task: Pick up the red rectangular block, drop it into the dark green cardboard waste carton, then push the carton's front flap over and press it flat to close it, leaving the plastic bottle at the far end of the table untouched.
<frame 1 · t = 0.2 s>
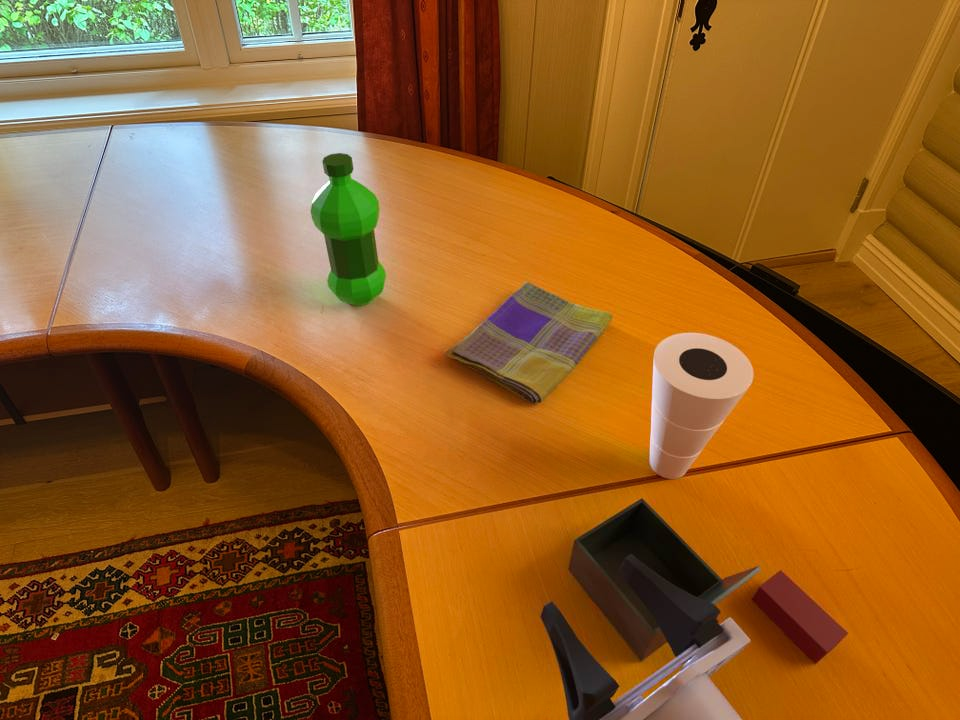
hand: (586, 584, 46), 20 cm above the table, tool horizontal, fingers open, 7 cm apart
white paper towel roll: (667, 464, 79), on the table
carton flap: (707, 600, 56), point 10 cm above the table, hinge at 110.0°
dish towel: (531, 344, 97), on the table
red rectangular block: (792, 621, 64), on the table
plastic bottle: (360, 297, 106), on the table
waste carton: (636, 589, 67), on the table
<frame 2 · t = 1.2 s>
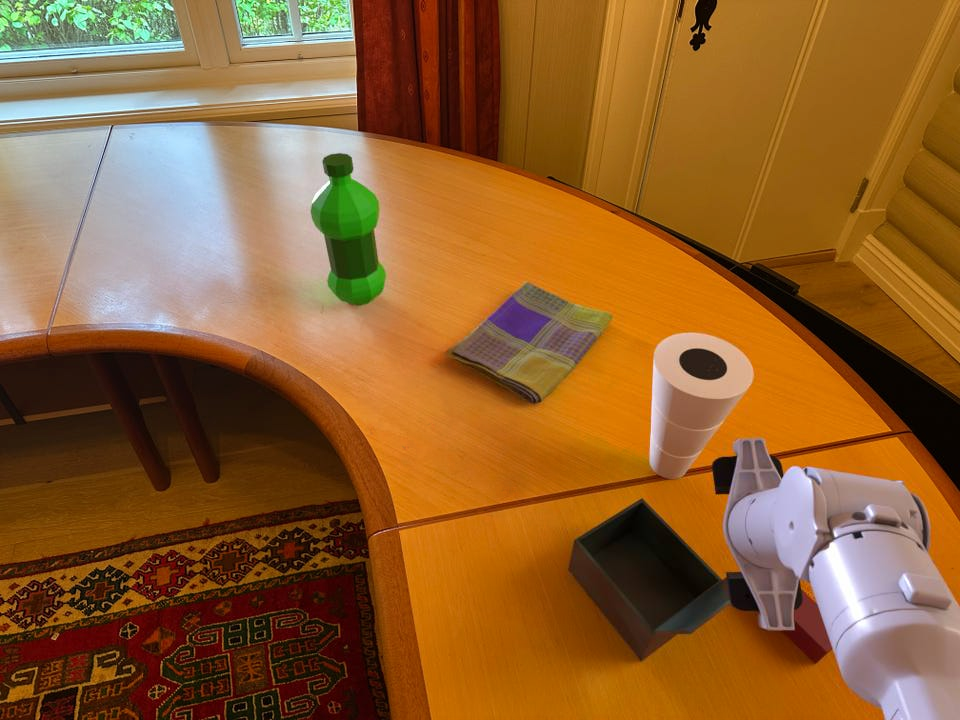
hand: (731, 532, 56), 14 cm above the table, tool tilted 30°, fingers open, 7 cm apart
carton flap: (709, 603, 56), point 10 cm above the table, hinge at 116.6°, touching gripper
everything else where it was.
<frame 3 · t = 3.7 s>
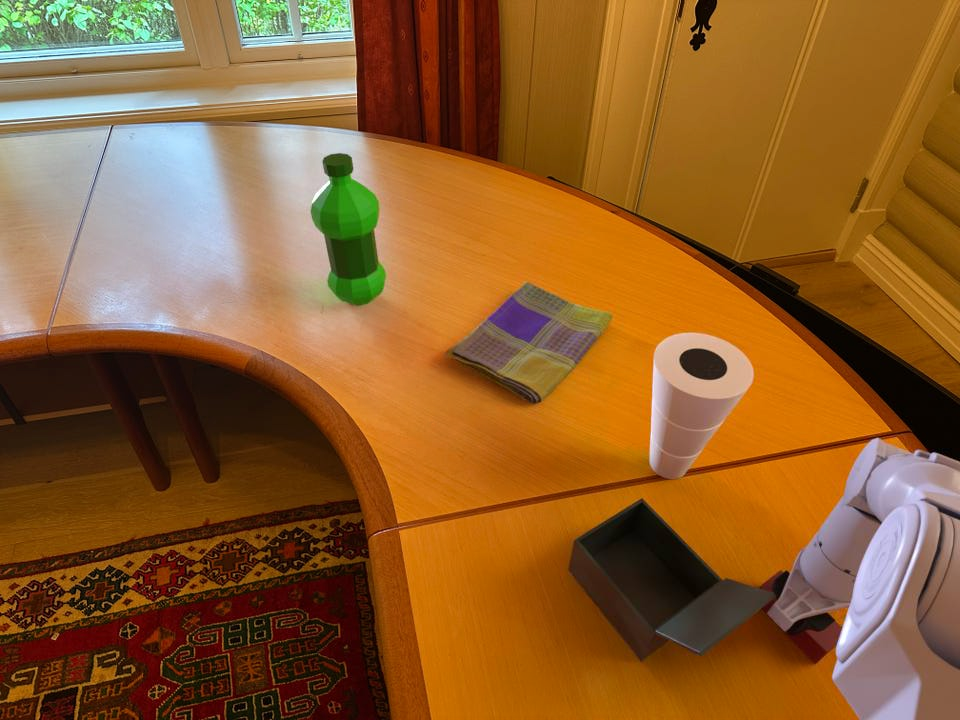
hand: (797, 616, 63), 1 cm above the table, tool pointing down, fingers closed on red rectangular block, 3 cm apart
carton flap: (714, 614, 55), point 9 cm above the table, hinge at 136.3°
red rectangular block: (792, 621, 64), on the table, touching gripper
everything else where it was.
when the fingers open (5 cm above the table, at t = 8.0 s): red rectangular block drops 4 cm, resting on waste carton.
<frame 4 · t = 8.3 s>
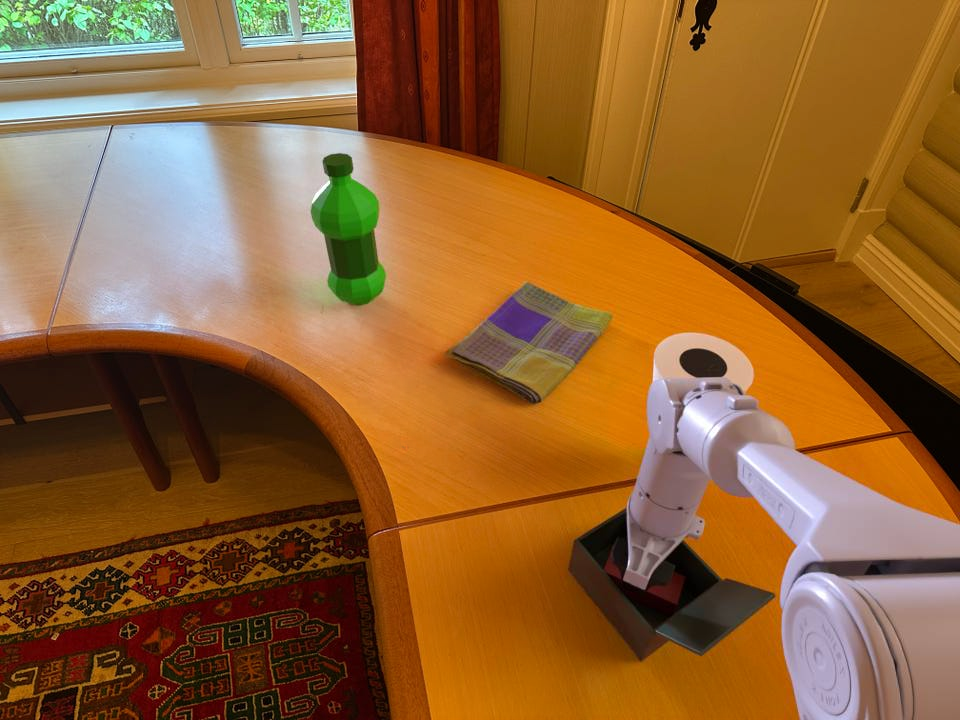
hand: (642, 560, 63), 6 cm above the table, tool pointing down, fingers open, 6 cm apart
red rectangular block: (639, 587, 66), resting on waste carton
everything else where it was.
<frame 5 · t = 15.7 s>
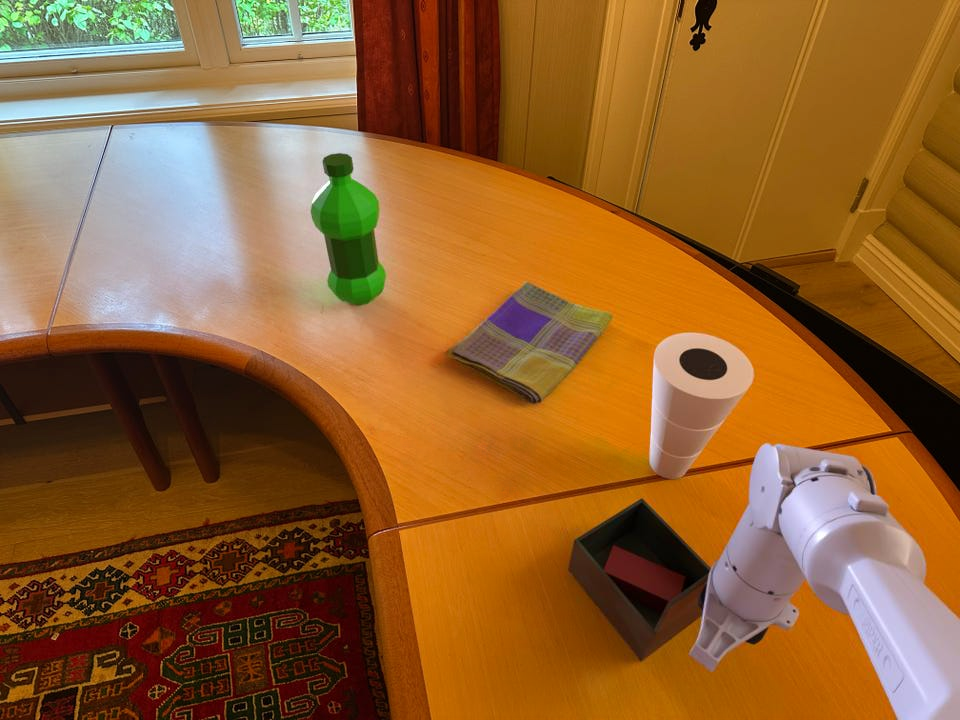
hand: (718, 634, 56), 7 cm above the table, tool pointing down, fingers closed
carton flap: (700, 590, 56), point 10 cm above the table, hinge at 90.9°, touching gripper
everything else where it was.
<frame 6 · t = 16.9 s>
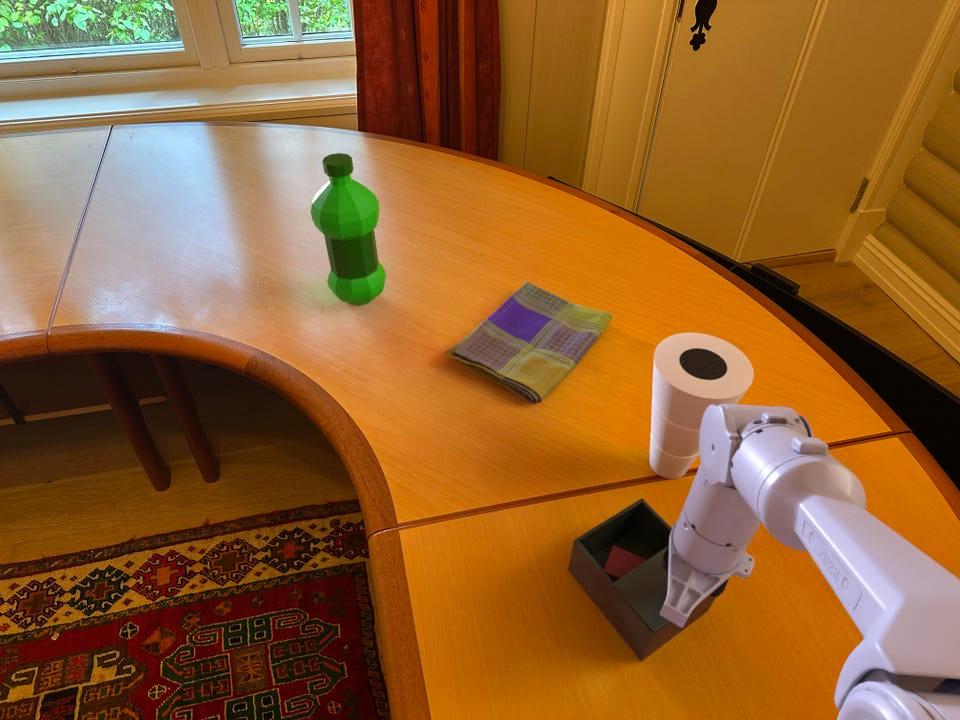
hand: (682, 593, 59), 7 cm above the table, tool pointing down, fingers closed, pressing on carton flap
carton flap: (669, 581, 60), point 7 cm above the table, hinge at -4.0°, touching gripper, waste carton
everything else where it was.
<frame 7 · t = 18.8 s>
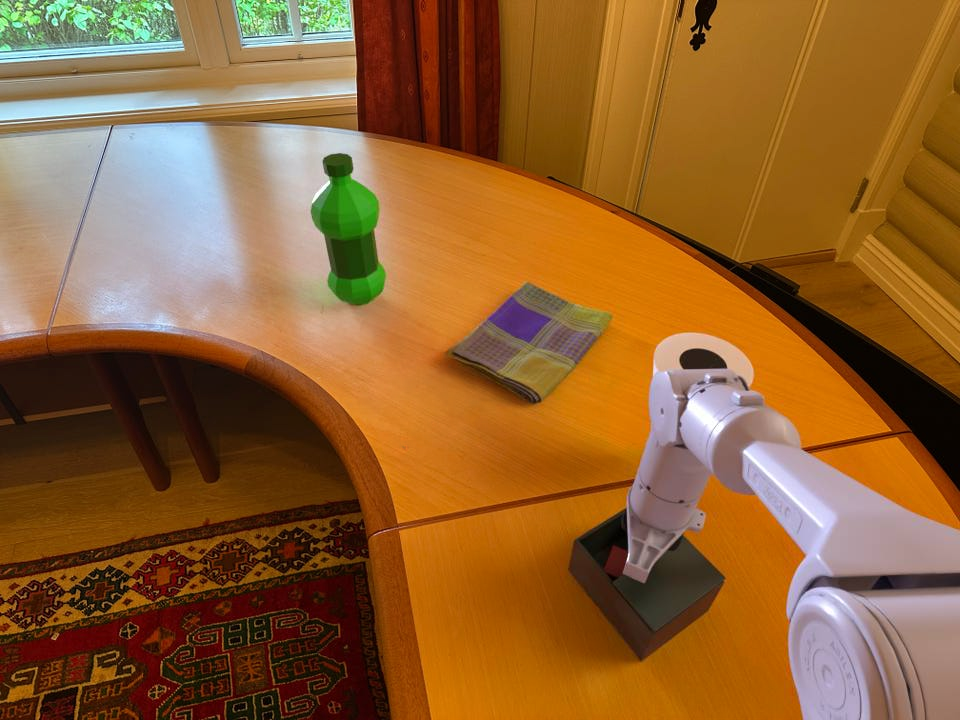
hand: (641, 552, 62), 7 cm above the table, tool pointing down, fingers closed, pressing on carton flap
carton flap: (669, 580, 60), point 7 cm above the table, hinge at -0.8°, touching gripper
everything else where it was.
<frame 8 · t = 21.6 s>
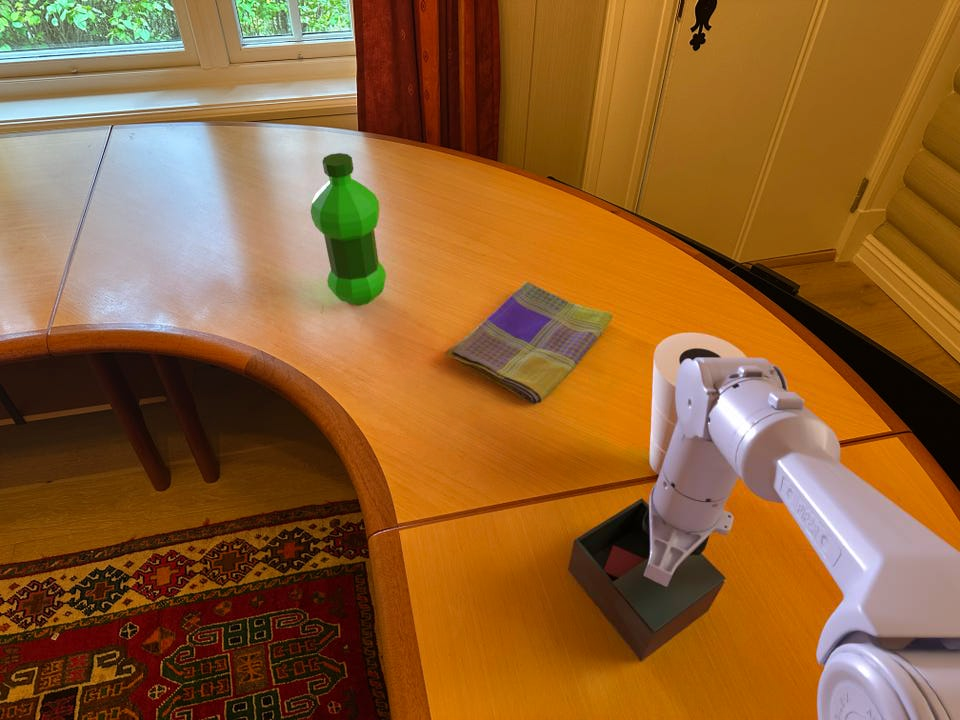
hand: (663, 556, 59), 9 cm above the table, tool pointing down, fingers closed
carton flap: (669, 580, 60), point 7 cm above the table, hinge at -1.4°
everything else where it was.
at the end: red rectangular block inside the target area in the waste carton (0.3 cm from its centre), point 0.4 cm above the waste carton's base; carton flap at -1° (first picture: +110°); plastic bottle moved 0.2 cm from its start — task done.
